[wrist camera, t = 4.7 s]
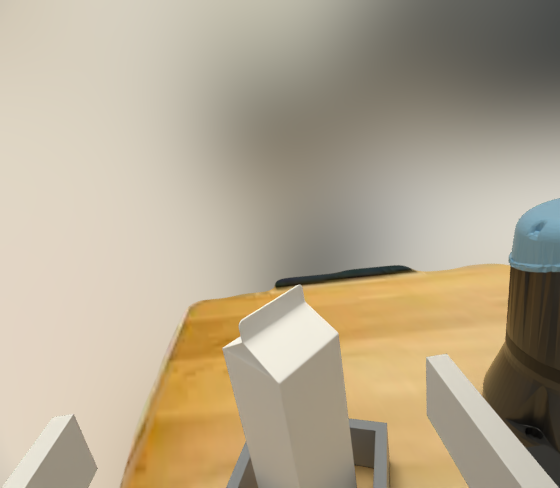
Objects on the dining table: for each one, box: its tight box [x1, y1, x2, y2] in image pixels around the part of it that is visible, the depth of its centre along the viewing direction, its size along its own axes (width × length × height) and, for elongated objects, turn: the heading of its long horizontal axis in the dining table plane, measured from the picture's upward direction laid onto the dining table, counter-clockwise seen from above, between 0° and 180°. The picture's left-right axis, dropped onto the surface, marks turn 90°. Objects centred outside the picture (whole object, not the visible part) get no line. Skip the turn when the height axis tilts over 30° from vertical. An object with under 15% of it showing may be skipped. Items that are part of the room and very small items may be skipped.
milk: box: [223, 285, 357, 488], centre depth 26 cm, size 6×6×22 cm
